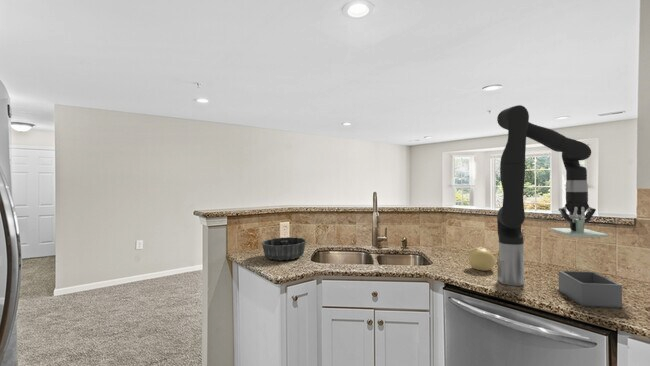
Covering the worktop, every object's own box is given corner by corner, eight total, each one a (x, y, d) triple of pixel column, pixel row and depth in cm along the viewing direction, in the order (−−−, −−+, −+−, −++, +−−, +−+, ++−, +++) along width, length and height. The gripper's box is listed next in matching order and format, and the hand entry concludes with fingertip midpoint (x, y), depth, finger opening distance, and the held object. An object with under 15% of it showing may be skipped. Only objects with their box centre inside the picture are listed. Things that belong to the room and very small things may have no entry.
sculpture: (489, 266, 165) (489, 245, 165) (498, 273, 153) (498, 250, 153) (466, 265, 166) (465, 245, 166) (473, 272, 155) (472, 250, 154)
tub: (581, 306, 112) (581, 283, 112) (558, 290, 128) (558, 270, 128) (622, 308, 110) (621, 285, 110) (593, 292, 125) (593, 271, 125)
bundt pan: (255, 262, 181) (255, 245, 181) (269, 252, 207) (269, 236, 207) (301, 263, 177) (301, 245, 177) (310, 252, 203) (309, 237, 203)
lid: (570, 238, 131) (570, 221, 131) (550, 231, 148) (549, 217, 148) (608, 238, 128) (608, 222, 128) (583, 231, 145) (583, 217, 145)
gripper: (562, 191, 136) (563, 232, 136) (600, 190, 133) (601, 232, 133) (554, 190, 143) (554, 229, 143) (589, 190, 140) (590, 229, 141)
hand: (577, 230), depth 138 cm, fingers closed on lid
